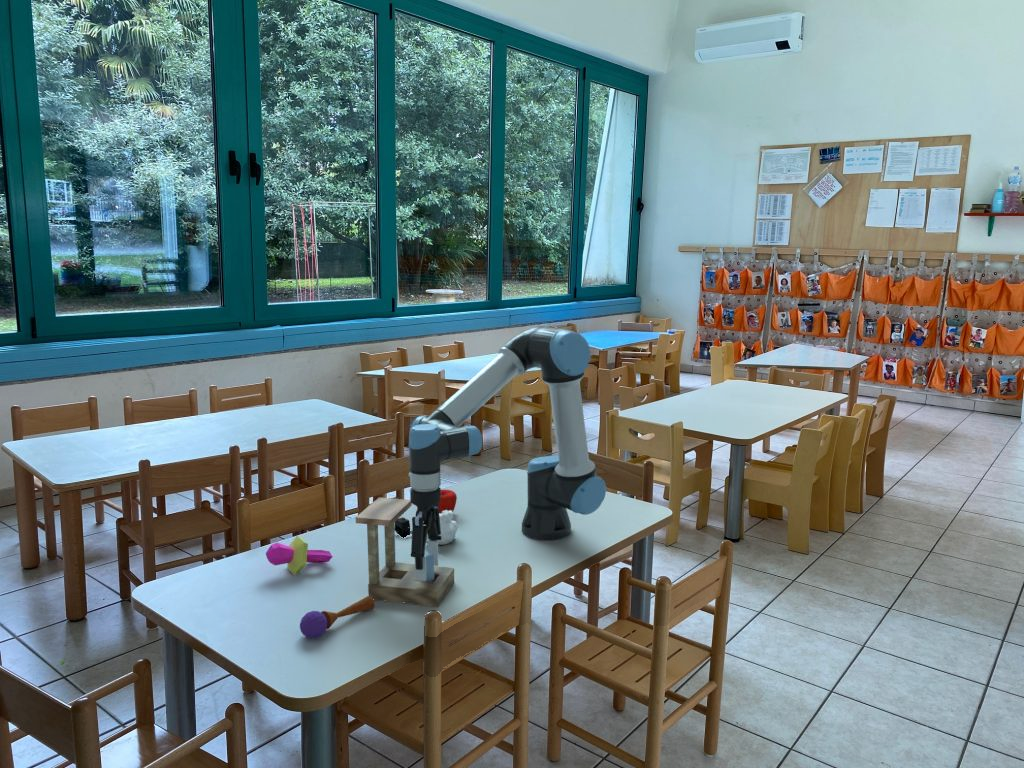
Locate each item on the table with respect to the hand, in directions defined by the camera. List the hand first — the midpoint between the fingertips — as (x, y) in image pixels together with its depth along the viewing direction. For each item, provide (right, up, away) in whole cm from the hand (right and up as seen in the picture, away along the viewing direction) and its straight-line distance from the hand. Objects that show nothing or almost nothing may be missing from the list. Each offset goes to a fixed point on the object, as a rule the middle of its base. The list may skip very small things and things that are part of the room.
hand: (427, 572), depth 199 cm
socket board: (-4, -5, +2) cm, 7 cm away
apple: (-1, +5, +56) cm, 56 cm away
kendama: (-19, -9, -15) cm, 26 cm away
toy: (-36, -3, +14) cm, 39 cm away
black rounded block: (-12, +2, +41) cm, 43 cm away
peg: (0, -5, +1) cm, 5 cm away
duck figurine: (+1, +1, +33) cm, 33 cm away
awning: (-11, -1, +3) cm, 11 cm away
